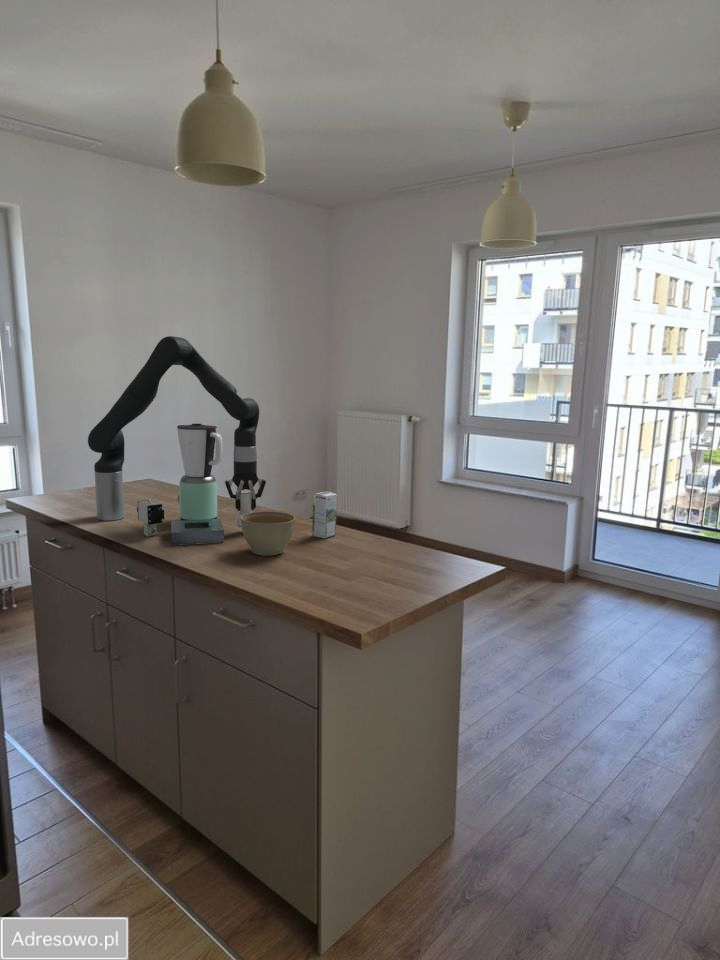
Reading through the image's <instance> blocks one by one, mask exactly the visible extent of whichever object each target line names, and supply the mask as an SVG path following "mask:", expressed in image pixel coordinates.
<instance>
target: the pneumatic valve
mask: <svg viewBox="0 0 720 960" xmlns="http://www.w3.org/2000/svg"><path fill="white" fill-rule="evenodd" d="M136 512H137V520H138V521H141V522H142V523H144V524H143V535H144V536H146V537H148V538H150V537H153V536H156V535H157V536H158V534H159V533H158V525H157V524H163V522H164V521H163V520H165V509H163V504H162V503H161V501H155V500H153V499H151V498H148V499H145V500H137V506H136Z"/></svg>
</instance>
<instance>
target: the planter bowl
mask: <svg viewBox="0 0 720 960" xmlns="http://www.w3.org/2000/svg"><path fill="white" fill-rule="evenodd" d="M295 520H296V517H295V516H294V515H293V514H291V513H287V512H284V511H283V512H282V511H272V510H270V511H269V510H266V511H265V510H262V511H261V510H260V511H252V513H247V514H244V515H242V516H241V522H242V527H241V530H242V534H243V537H244V540H245V541H246V543H247V544H248V546H249V547H250V549H251V553H252V554H255V555H257V556H264V557H265V556H267V557H269V556H277V555H280V554H282V553H283V552H284V550H285V547H286V546H287V545H288V543H289V542H290V540H291V537H292V535H293V532H294V528H295V522H296V521H295Z"/></svg>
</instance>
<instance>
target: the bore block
mask: <svg viewBox="0 0 720 960" xmlns="http://www.w3.org/2000/svg"><path fill="white" fill-rule="evenodd" d="M170 526H171V527H170V528H171V529H170V531H171V532H170V535H171V536H170V537H171V539H170V540H171V546H181V545H180V544H187V545H198V544H197V543H206V544H222V543H221V542H224V543H225V529H224V526H223V523H222V520H221V518H217V519H202V520H171V521H170Z"/></svg>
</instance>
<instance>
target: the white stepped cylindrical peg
mask: <svg viewBox="0 0 720 960" xmlns="http://www.w3.org/2000/svg"><path fill="white" fill-rule="evenodd" d="M239 499H240V511H238V512H237V513H236V526H237V527H238V528H242V522H241V516H242V515H244V514H247V513H252V512H253V510H252V495H251V493H250V491H241V494H240V498H239Z"/></svg>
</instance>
